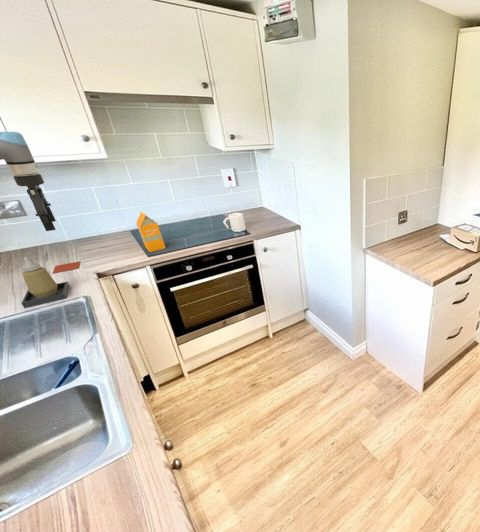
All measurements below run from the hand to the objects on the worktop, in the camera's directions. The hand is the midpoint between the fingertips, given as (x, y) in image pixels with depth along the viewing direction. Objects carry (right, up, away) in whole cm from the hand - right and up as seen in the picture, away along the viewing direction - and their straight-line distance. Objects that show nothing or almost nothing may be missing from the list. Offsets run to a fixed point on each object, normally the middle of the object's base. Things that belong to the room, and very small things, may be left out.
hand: (51, 225), depth 135 cm
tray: (0, -30, -1) cm, 30 cm away
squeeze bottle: (0, -30, -1) cm, 30 cm away
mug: (+41, +6, +72) cm, 83 cm away
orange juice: (+10, -7, +44) cm, 46 cm away
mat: (-16, -18, +22) cm, 32 cm away
